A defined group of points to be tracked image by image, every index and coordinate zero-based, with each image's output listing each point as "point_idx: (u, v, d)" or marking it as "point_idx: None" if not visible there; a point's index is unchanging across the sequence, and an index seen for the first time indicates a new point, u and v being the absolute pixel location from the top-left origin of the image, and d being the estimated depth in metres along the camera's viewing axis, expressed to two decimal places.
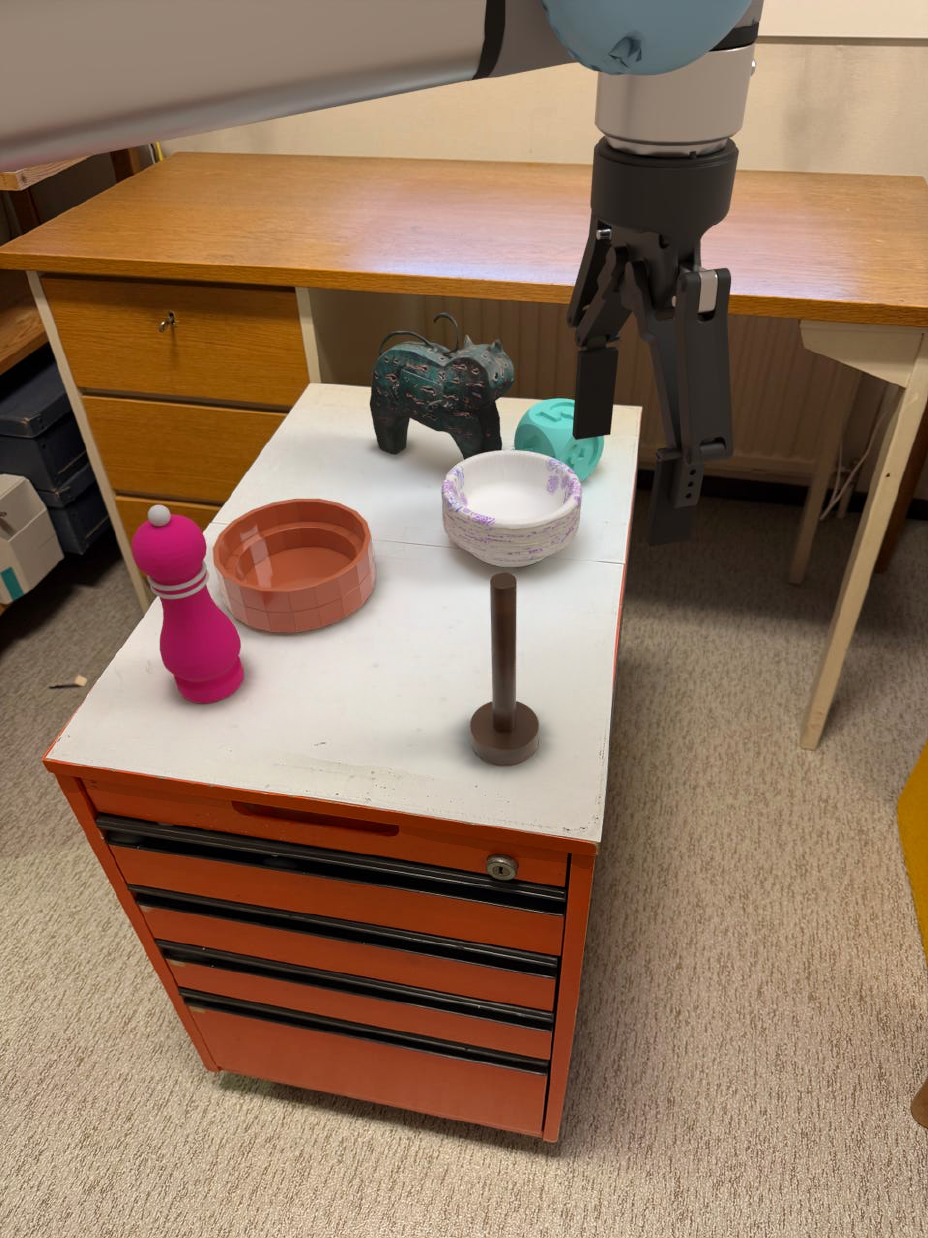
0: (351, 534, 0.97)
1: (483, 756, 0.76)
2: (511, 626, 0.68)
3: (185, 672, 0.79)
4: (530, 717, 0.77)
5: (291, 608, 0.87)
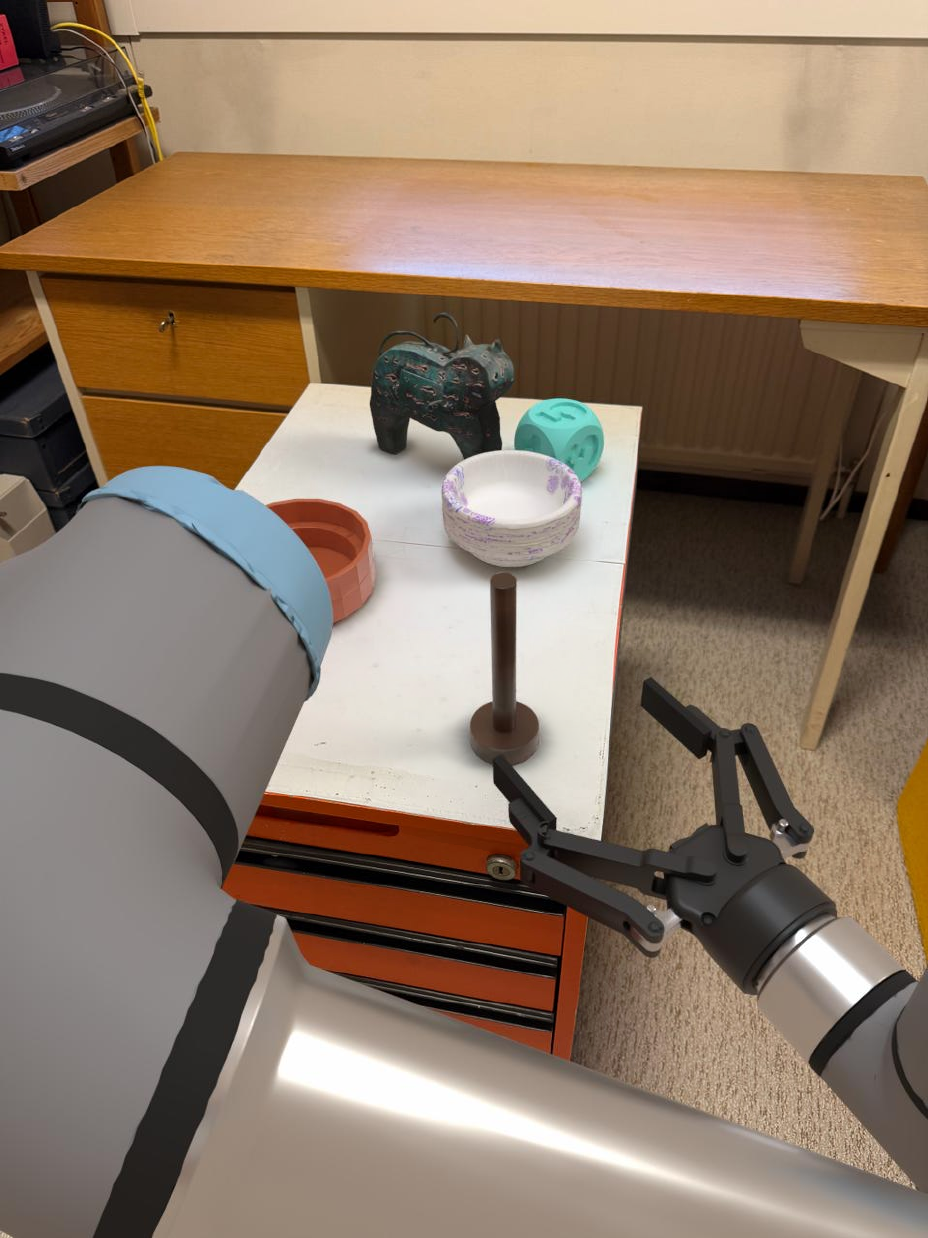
0: (351, 534, 0.97)
1: (483, 756, 0.76)
2: (511, 626, 0.68)
3: None
4: (530, 717, 0.77)
5: None
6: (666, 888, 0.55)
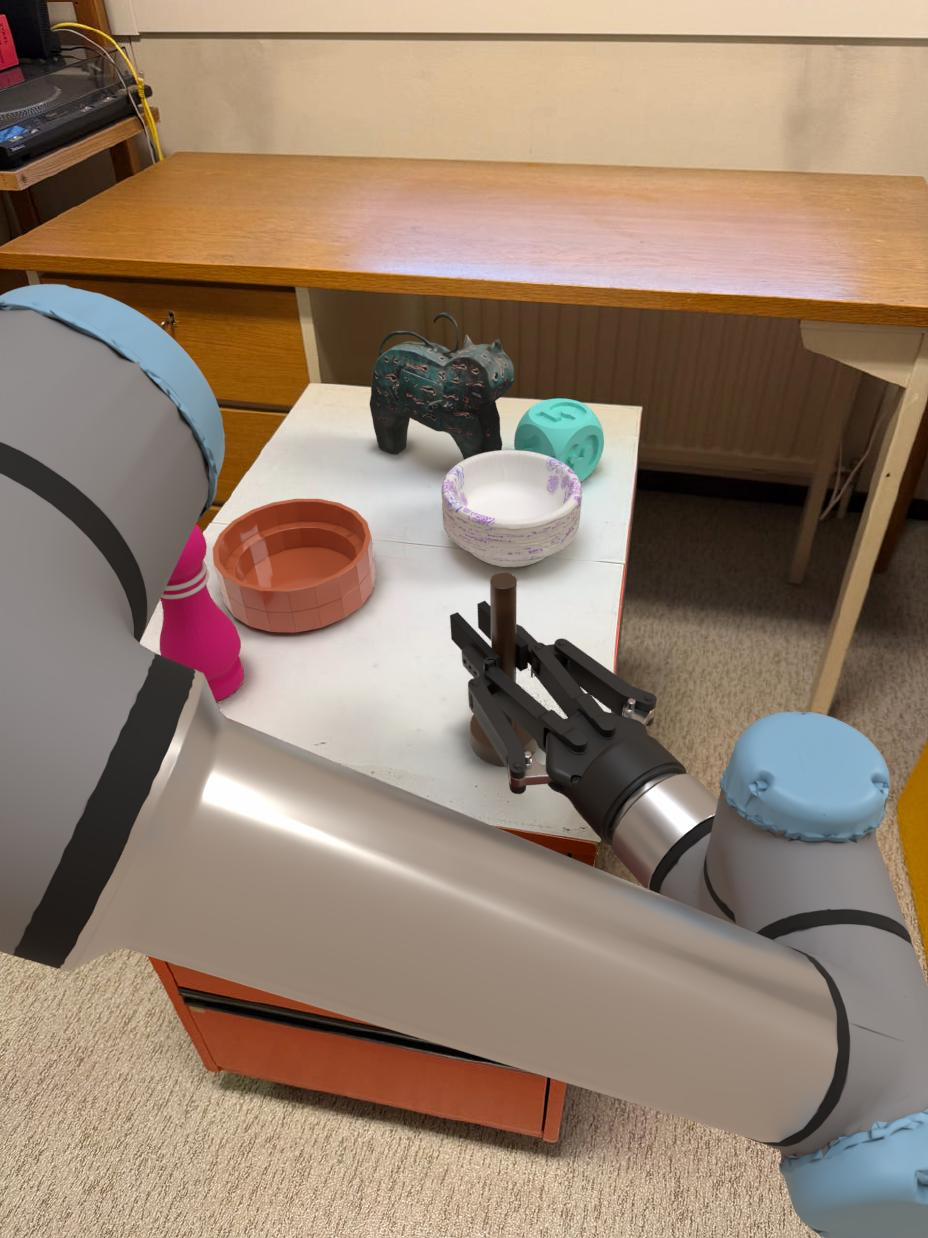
0: (351, 534, 0.97)
1: (483, 756, 0.76)
2: (511, 626, 0.68)
3: None
4: None
5: (291, 608, 0.87)
6: None
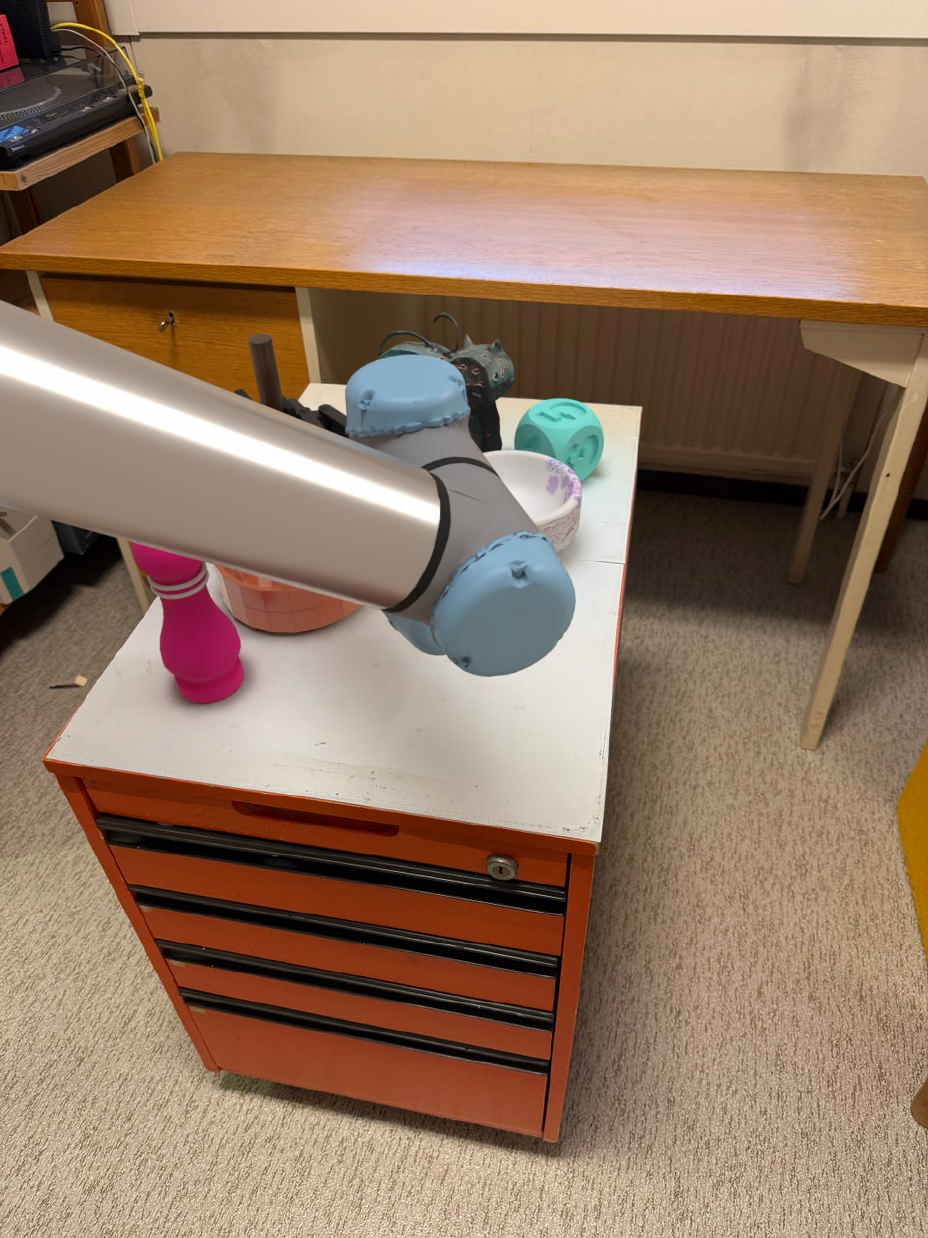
0: None
1: None
2: (273, 384, 0.78)
3: (185, 672, 0.79)
4: None
5: (291, 608, 0.87)
6: None
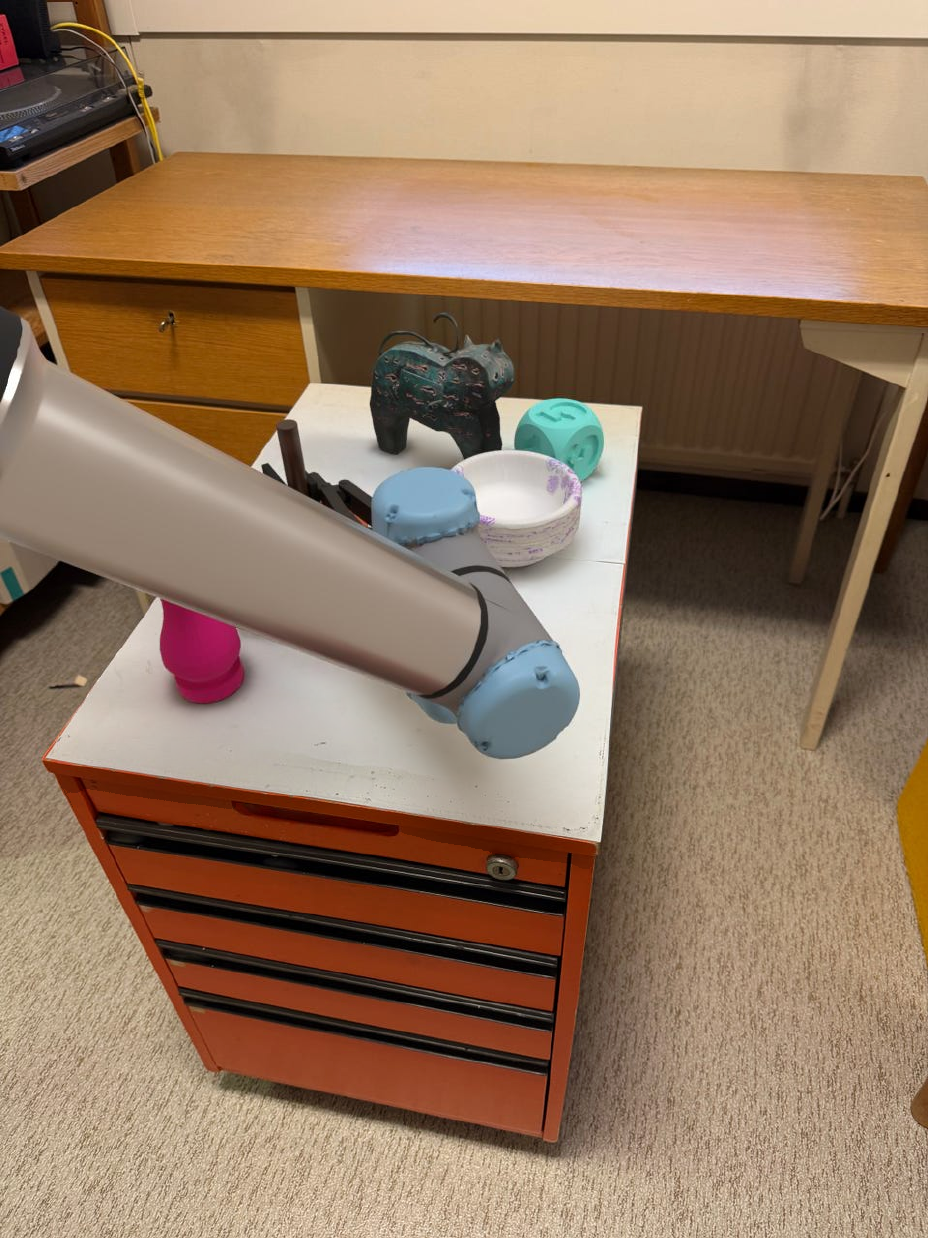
0: None
1: None
2: (297, 464, 0.86)
3: (185, 672, 0.79)
4: None
5: None
6: None
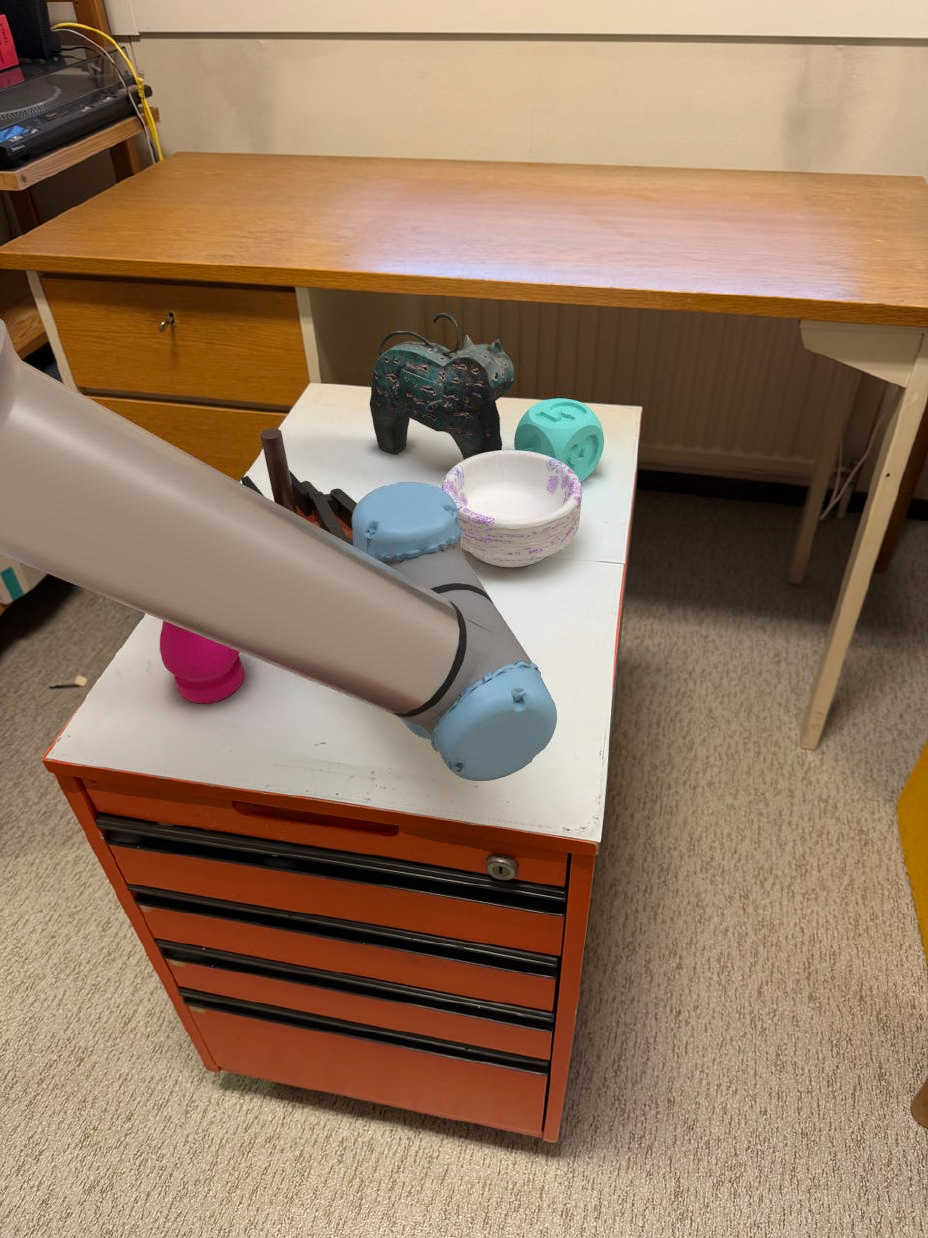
0: (351, 534, 0.97)
1: None
2: (282, 473, 0.85)
3: (185, 672, 0.79)
4: None
5: None
6: None
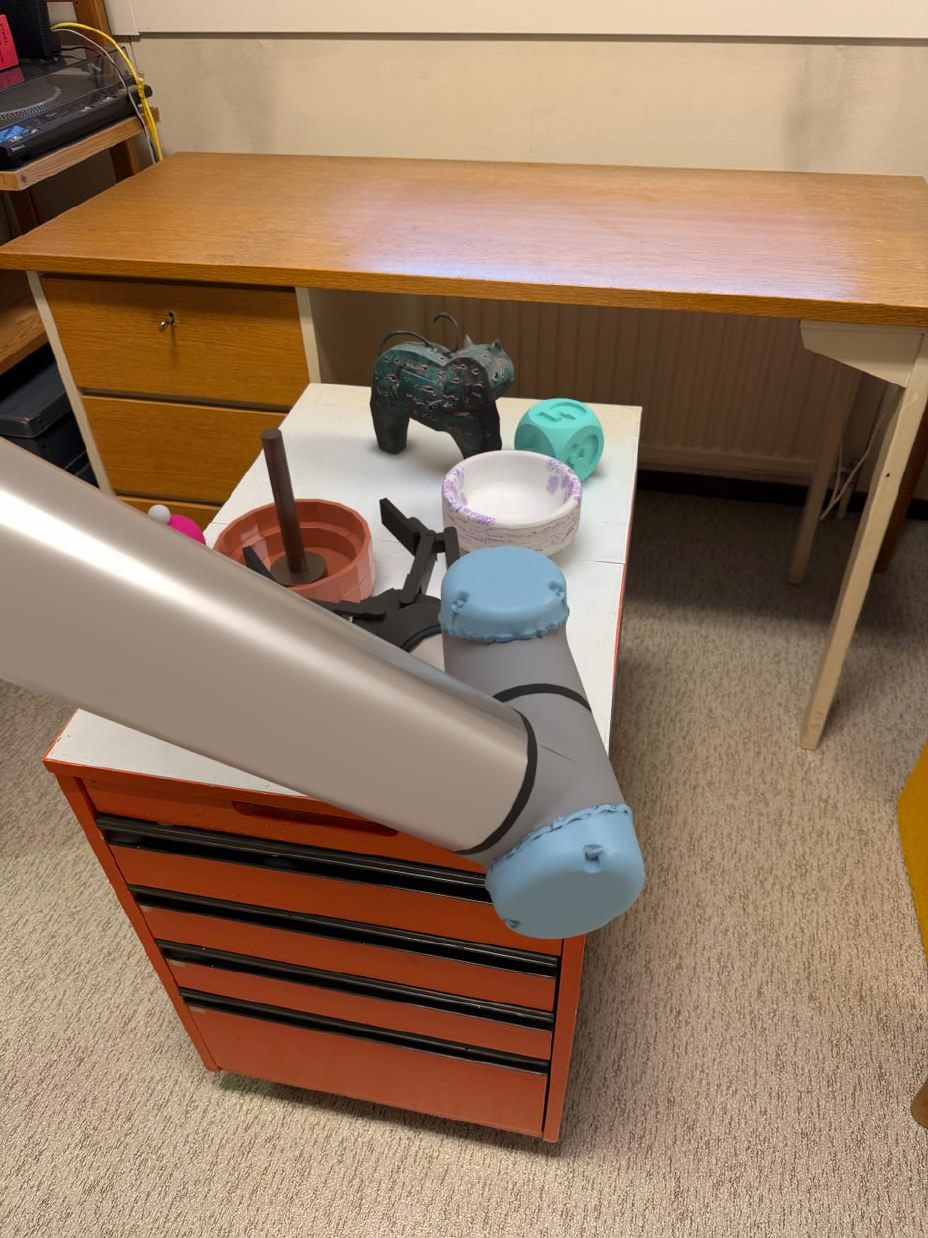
0: (351, 534, 0.97)
1: None
2: (282, 473, 0.85)
3: None
4: (320, 562, 0.94)
5: None
6: None
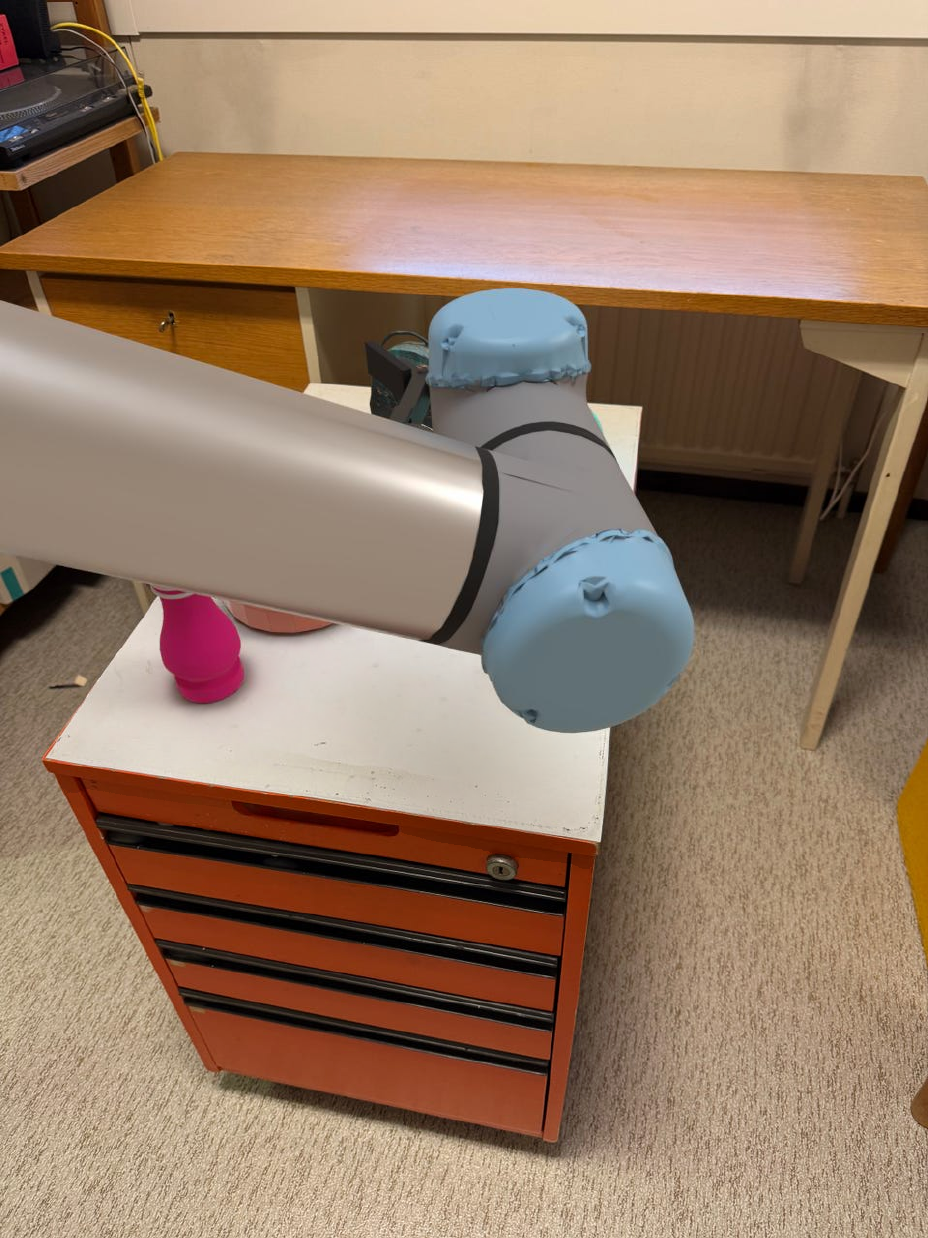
0: None
1: None
2: None
3: (185, 672, 0.79)
4: None
5: None
6: None
